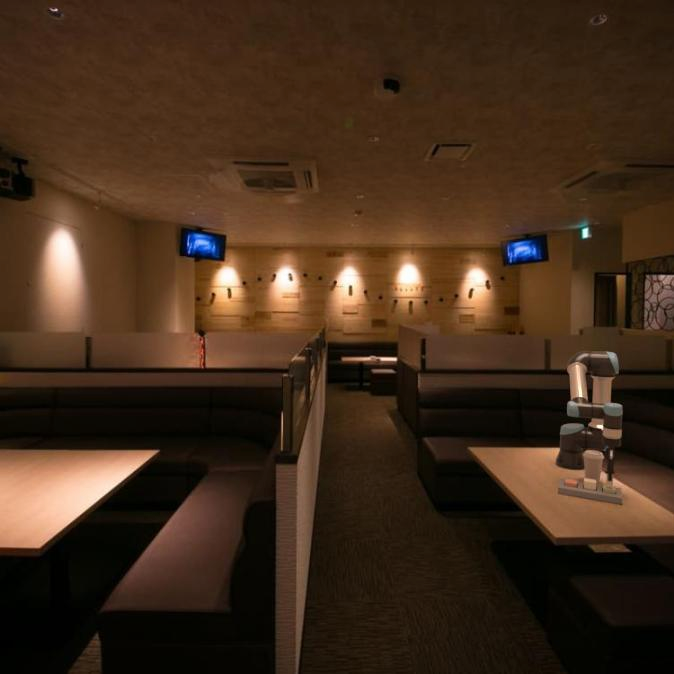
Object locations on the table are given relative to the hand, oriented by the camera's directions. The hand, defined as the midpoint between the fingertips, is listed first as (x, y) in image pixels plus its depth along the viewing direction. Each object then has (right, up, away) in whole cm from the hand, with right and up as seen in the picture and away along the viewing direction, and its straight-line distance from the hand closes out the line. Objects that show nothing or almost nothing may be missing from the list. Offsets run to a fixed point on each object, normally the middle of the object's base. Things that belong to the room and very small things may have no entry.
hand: (609, 486), depth 225 cm
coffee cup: (+3, -4, +21) cm, 22 cm away
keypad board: (-7, -5, +4) cm, 9 cm away
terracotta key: (-14, -3, +8) cm, 16 cm away
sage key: (0, -4, 0) cm, 4 cm away
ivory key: (-7, -2, +4) cm, 8 cm away
